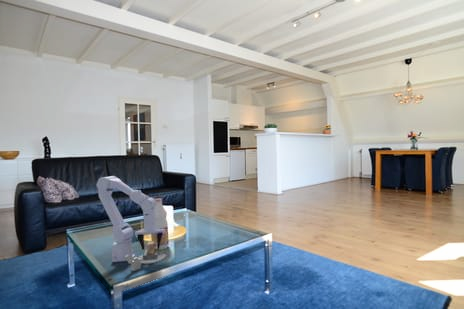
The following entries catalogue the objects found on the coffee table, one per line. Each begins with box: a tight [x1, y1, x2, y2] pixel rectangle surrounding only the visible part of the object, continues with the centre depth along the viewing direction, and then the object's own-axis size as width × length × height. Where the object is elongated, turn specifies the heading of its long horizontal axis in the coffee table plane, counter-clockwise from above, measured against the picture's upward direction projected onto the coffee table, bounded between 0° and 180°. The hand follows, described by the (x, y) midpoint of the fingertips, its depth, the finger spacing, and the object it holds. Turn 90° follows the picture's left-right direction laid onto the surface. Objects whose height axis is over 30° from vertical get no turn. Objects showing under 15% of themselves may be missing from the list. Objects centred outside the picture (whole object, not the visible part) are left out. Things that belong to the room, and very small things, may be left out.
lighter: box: [125, 254, 142, 272], centre depth 129 cm, size 7×2×8 cm, turn 144°
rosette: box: [138, 249, 167, 265], centre depth 142 cm, size 14×14×4 cm
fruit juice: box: [150, 197, 170, 251], centre depth 160 cm, size 9×9×28 cm
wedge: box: [146, 241, 155, 254], centre depth 142 cm, size 3×5×7 cm, turn 6°
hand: (150, 248), depth 142 cm, fingers open, 7 cm apart
